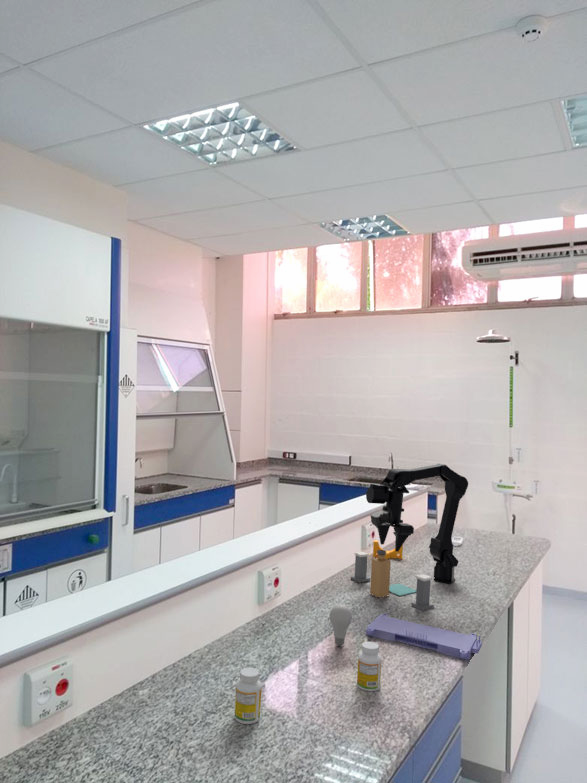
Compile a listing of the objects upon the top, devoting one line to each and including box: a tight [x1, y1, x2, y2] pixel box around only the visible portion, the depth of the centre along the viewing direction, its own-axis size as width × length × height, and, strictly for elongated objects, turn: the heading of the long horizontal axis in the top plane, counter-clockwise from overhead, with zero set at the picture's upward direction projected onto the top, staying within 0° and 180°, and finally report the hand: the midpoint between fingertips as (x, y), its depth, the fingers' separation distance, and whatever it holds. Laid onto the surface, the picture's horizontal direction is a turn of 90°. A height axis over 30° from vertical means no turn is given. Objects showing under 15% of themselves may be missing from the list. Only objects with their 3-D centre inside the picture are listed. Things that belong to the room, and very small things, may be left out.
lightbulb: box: [328, 604, 353, 647], centre depth 161 cm, size 6×6×11 cm
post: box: [410, 573, 435, 611], centre depth 194 cm, size 5×5×10 cm
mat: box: [389, 583, 417, 597], centre depth 209 cm, size 9×9×1 cm
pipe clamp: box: [372, 539, 404, 560], centre depth 250 cm, size 12×4×6 cm, turn 85°
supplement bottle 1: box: [234, 667, 263, 725], centre depth 124 cm, size 5×5×10 cm
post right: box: [350, 551, 371, 584], centre depth 218 cm, size 5×5×10 cm
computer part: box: [365, 613, 483, 661], centre depth 167 cm, size 30×4×15 cm
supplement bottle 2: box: [356, 641, 382, 692], centre depth 140 cm, size 5×5×10 cm
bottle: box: [369, 549, 392, 598], centre depth 203 cm, size 4×4×15 cm
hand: (389, 547), depth 215 cm, fingers open, 9 cm apart
